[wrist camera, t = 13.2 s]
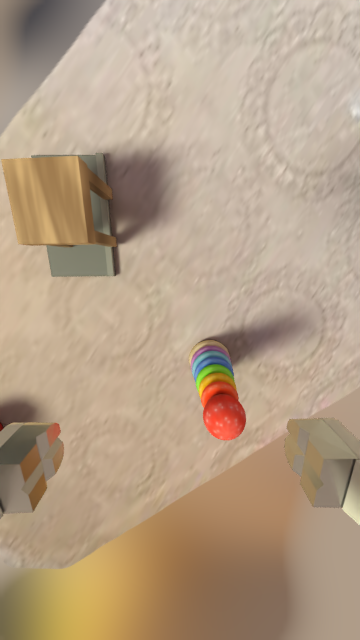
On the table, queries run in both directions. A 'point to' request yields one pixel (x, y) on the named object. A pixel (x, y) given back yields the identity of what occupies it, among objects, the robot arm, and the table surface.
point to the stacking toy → (217, 389)
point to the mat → (94, 256)
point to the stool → (54, 201)
